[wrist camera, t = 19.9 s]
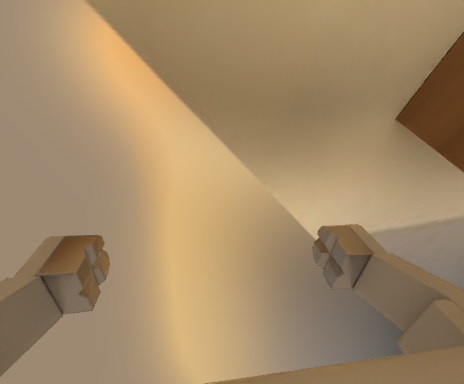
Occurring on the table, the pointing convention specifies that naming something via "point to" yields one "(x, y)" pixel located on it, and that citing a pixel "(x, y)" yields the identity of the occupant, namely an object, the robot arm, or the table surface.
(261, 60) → the table surface
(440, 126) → the riser
